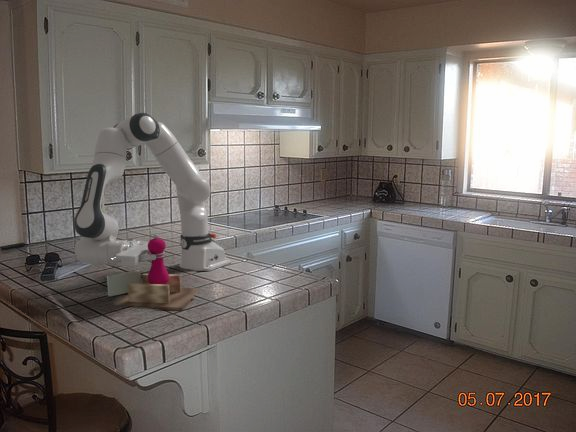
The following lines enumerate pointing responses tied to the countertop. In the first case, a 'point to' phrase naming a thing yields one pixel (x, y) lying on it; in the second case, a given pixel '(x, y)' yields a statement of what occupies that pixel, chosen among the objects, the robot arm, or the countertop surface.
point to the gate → (122, 282)
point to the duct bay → (159, 294)
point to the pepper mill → (157, 262)
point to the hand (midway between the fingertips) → (159, 254)
